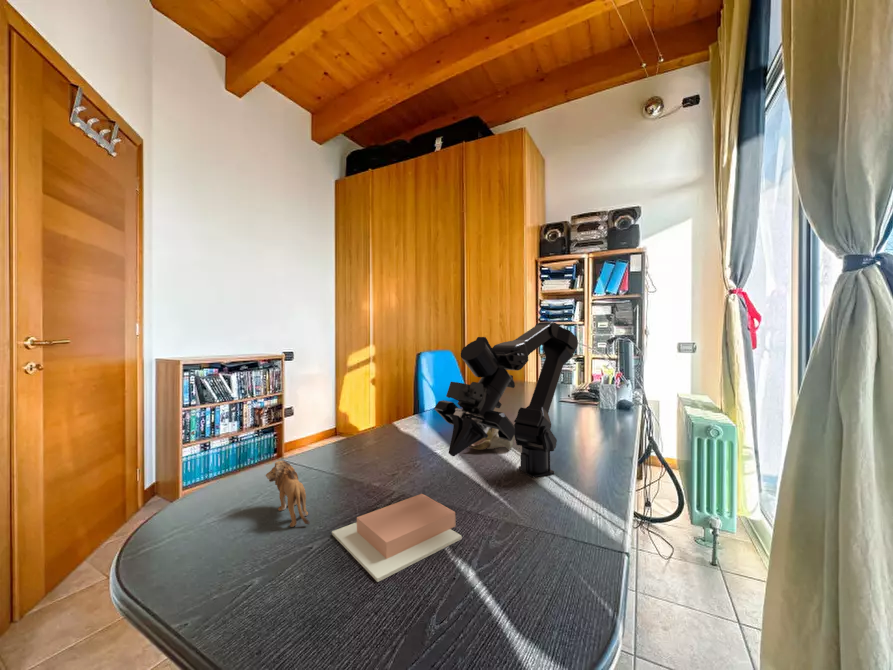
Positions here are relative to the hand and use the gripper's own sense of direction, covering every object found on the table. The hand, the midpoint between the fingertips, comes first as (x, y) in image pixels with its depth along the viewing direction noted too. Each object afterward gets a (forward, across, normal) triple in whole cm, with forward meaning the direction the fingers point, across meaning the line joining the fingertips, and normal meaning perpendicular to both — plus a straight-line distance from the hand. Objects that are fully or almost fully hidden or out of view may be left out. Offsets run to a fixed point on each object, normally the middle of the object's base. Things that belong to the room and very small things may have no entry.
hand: (451, 454), depth 70 cm
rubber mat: (+17, 0, -1) cm, 17 cm away
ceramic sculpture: (-16, -21, +33) cm, 42 cm away
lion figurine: (+25, -21, -9) cm, 34 cm away
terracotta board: (+9, 0, +4) cm, 10 cm away
